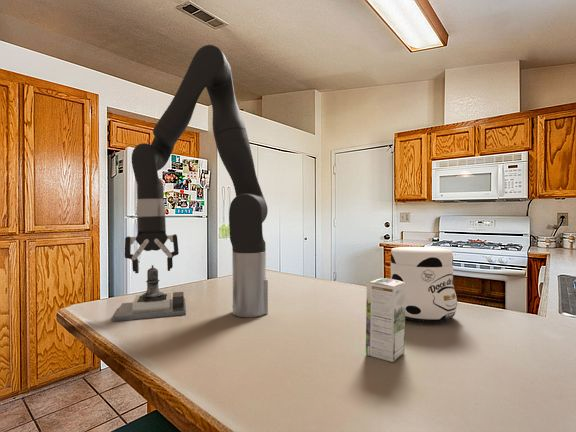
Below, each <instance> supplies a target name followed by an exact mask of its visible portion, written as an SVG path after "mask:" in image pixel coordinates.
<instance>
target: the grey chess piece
mask: <svg viewBox="0 0 576 432" xmlns="http://www.w3.org/2000/svg"><path fill="white" fill-rule="evenodd" d="M146 272H147V273H146V274H147V276H146V277H147V278H146V281H145V283H146V287H147V288H146V291H145V293H142V294H141V295H142V296H143V299H144V301H145V302H148V301H161V300H162V297H163V294H164V292H163V291H160V288H159V282H160V280H159V270H158V269H157V268H156V267H155V266H154V264H151V267H150V268H149V269H147V271H146Z"/></svg>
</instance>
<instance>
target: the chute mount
mask: <svg viewBox="0 0 576 432" xmlns="http://www.w3.org/2000/svg"><path fill="white" fill-rule="evenodd" d="M163 293H164V292H163ZM184 296H185V293H184V291H175V292H173V293H172V295H171V293H170V292H169V293H168V292H166V293H164V294H163V297H162V300H161V301H148V302H145V301H144V299H143V296H142V294H141V295H139V294H138V295H136V296H135V298H134V300H133V302H132V301H131V302H122V303H121V305H120V306H119V308H117V311H116V312H115V314H114V316H113V320H112V321H113V322H123V321H134V320H133V319H135V320H143V319H154V318H155V319H156V318H165V317H166V318H167V317H176V316H186V315H187V309H186V298H185V297H184ZM171 297H172V298H171Z"/></svg>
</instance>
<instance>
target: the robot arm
mask: <svg viewBox="0 0 576 432" xmlns="http://www.w3.org/2000/svg"><path fill="white" fill-rule="evenodd" d="M205 88H206V91H207V93H208V96H209V100H210V103H211V108H212V131H213V137H214V141H215V144H216V149H217V152H218V155H219V158H220V160H221V162H222V164H223V166H224V167H225V169H226V171H227V173H228V175H229V177H230V179H231V181H232V184H233V188H234V192H235V193H234V194H235V197H234V198H233V199H232V201H231V202H230V205H229V209H228V222H229V223H228V225H229V229H228V231H229V240H230V243H231V248H232V250H231V251H232V252H231V253H232V255H231V256H232V257H231V258H232V264H231V265H232V314H233V316H235V317H239V318H255V317H260V316H264V315H268V314H269V295H268V294H269V289H268V287H269V281H268V279H267V274H266V271H267V270H266V263H267V262H266V259H267V258H266V256H267V255H266V241H265V239H264V235H263V223H264V222H265V220H266V219H267V216H268V205H267V202H266V199H265V197H264V194H263V191H262V189H261V186H260V183H259V180H258V177H257V176H258V175H257V174H256V169H255V168H256V167H255V163H254V162H255V161H254V158H253V154H252V150H251V144H250V139H249V137H248V133H247V129H246V126H245V122H244V119H243V115H242V113H241V110H240V108H239V105H238V102H237V97H236V93H235V88H234V81H233V73H232V67H231V64H230V63H229V61H228V59H227V57H226V55H225V54H224V52H223V51H222V49H220V48H219V47H218V46H216V45H213V44H206V45H202V46H201V47H200V48H199V49H198V50H197V51H196V52H195V54H194V56H193V57H192V60H191V61H190V64H189V65H188V68H187V70H186V73H185V75H184V76H183V79H182V81H181V83H180V85H179V87H178V89H177V91H176V93H175V94H174V97H173V98H172V100H171V101H170V103H169V105H168V106H167V108H166V109H165V111H164V112H163V114H162V115H161V117H160V118H159V120H158V121H157V123H156V124H155V126H154V127H153V129H152V134H153V136H154V137H153V139H152V141H151V144H150V143H145V142H143V143H139V144H137V145H136V146H135V147H133V150H132V153H131V166H132V171H133V174H134V178H135V182H136V193H137V195H136V198H137V200H136V201H137V202H136V203H137V204H136V221H137V224H136V230H137V234H136V236H126V237H125V238H124V239H125V240H124V258H125V259H129V260H131V262H132V263H131V265H132V271H133V272H134V273H135V274H139V272H140V270H139V269H140V268H139V265H140V264H139V259H138V257H139V256H140V254H141V253H142V252H143V251H145V252H151V251H160V250H161V251H162V252H163V253H164V254H165V255H166V256H167V258H166V262H167V271H168V272H169V271H171V269H173V267H174V266H173V258H174V257H175V256H178V255H179V242H178V235H177V234H176V233H175V234H171V235H167V233H166V232H167V230H166V229H167V228H166V227H167V225H166V206H165V199H164V197H165V195H164V184H163V181H162V179H160V177H159V174H158V171H160V170H161V169H163V168H164V167H165V166H166V165H167V163H168V161H169V159H170V158H171V156H172V155H171V154H172V153H173V151H174V148H175V146H176V143H177V141H178V140H179V139H180V138H181V136H182V135H183V133H184V132H185V131H186V129H187V127H188V126H189V124H190V121H191V119H192V116H193V114H194V111H195V108H196V105H197V103H198V100H199V99H200V96H201V94H202V93H203V91H204V90H205ZM168 240H169V241H170V243H173V251H170V250H169V249H168V247H167V246H166V245H165V244H166V242H167V241H168ZM135 241H136V243H137V244H138V245H139V246H138V248H137V249H136V250H135V253H134V254H133V253H131V251H132V250H131V248H132V245H134V243H135Z"/></svg>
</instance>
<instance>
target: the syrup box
mask: <svg viewBox="0 0 576 432" xmlns="http://www.w3.org/2000/svg"><path fill="white" fill-rule="evenodd" d="M405 284H406V283H405V282H402V281H399V280H394V279H391V278H386V277H385V278H384V277H381V278H377V279H374V280H371V281H368V282H366V305H365V306H366V307H365V308H366V309H365V310H366V311H365V312H366V313H365V314H366V315H365V316H366V317H365V321H366V322H365V355H366V356H369V357H372V358H376V359H380V360H383V361H387V362H390V363H394V362H395V361H396V360H398V359H399V358H400V357H401V356H403V354H405V348H406V347H405V340H406V337H405V335H406V333H405V332H406V330H405V329H406V319H405Z"/></svg>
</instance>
